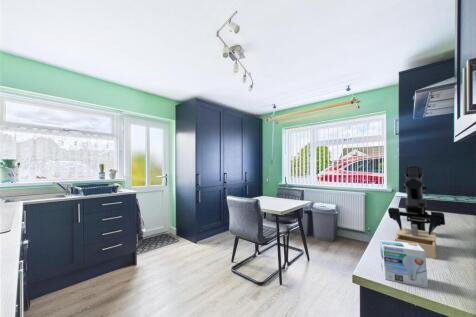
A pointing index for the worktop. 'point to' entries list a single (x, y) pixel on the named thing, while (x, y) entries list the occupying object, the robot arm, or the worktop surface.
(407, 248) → the light bulb box
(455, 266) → the worktop surface
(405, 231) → the sliding lid
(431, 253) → the wooden box
